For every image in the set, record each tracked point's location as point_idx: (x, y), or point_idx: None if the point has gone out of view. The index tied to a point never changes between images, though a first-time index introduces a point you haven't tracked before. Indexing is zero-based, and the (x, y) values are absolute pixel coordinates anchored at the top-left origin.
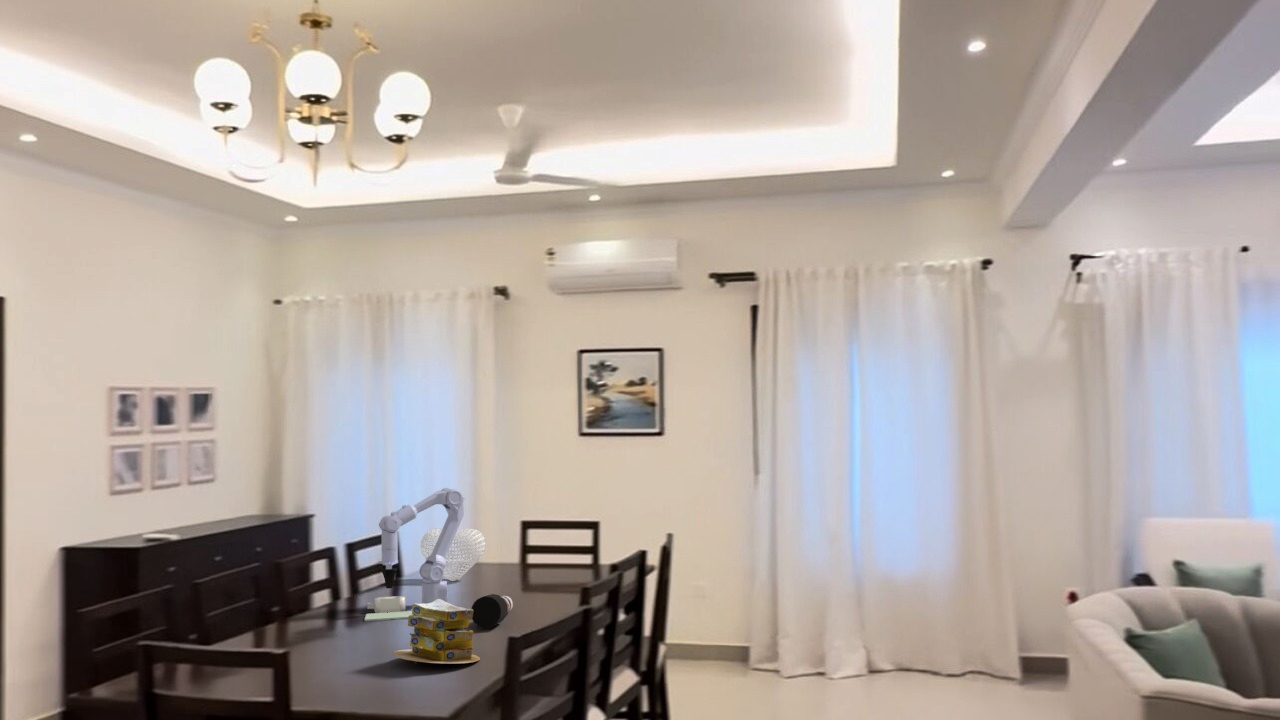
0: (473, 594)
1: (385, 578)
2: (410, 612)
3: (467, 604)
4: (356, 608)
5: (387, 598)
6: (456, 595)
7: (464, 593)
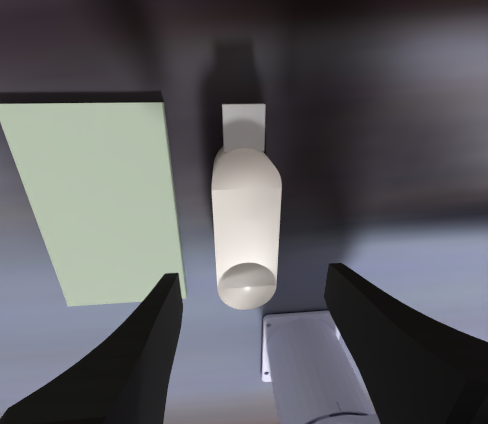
0: None
1: (113, 340)
2: None
3: None
4: (391, 23)
5: (223, 232)
6: None
7: None
